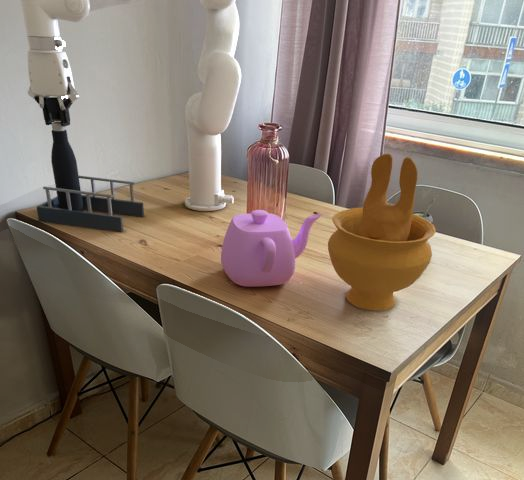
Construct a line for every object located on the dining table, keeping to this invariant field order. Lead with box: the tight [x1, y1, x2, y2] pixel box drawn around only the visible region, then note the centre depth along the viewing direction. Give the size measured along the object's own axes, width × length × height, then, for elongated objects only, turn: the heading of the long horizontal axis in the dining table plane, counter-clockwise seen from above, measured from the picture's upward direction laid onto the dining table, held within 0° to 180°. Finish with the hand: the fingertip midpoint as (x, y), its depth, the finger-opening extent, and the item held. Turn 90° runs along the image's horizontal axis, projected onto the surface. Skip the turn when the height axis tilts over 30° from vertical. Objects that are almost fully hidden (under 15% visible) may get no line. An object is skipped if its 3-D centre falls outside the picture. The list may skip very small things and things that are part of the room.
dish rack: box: [36, 175, 145, 233], centre depth 152 cm, size 25×14×10 cm, turn 76°
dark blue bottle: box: [46, 96, 85, 212], centre depth 147 cm, size 6×6×30 cm
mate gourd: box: [412, 193, 444, 242], centre depth 144 cm, size 8×8×15 cm
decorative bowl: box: [327, 153, 437, 312], centre depth 111 cm, size 21×21×30 cm
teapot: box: [220, 209, 323, 288], centre depth 121 cm, size 23×21×15 cm
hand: (57, 124), depth 143 cm, fingers closed on dark blue bottle, 3 cm apart
